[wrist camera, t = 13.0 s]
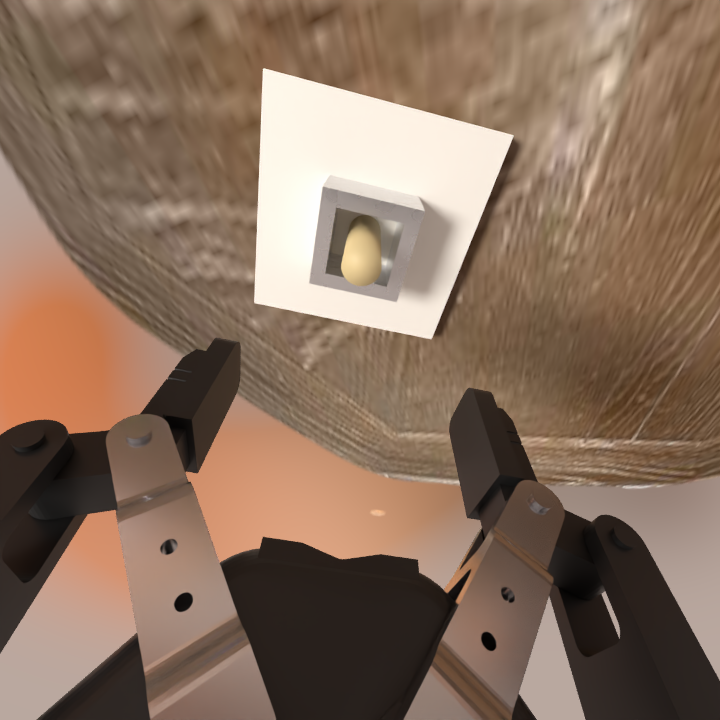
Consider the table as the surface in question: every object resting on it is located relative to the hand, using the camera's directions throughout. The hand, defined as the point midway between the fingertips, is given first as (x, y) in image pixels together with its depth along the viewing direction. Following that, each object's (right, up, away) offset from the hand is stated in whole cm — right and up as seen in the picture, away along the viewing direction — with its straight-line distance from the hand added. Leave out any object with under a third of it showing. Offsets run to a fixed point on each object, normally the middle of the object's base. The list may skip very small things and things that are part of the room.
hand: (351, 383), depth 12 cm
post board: (+1, +11, +15) cm, 19 cm away
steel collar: (+1, +10, +14) cm, 18 cm away
